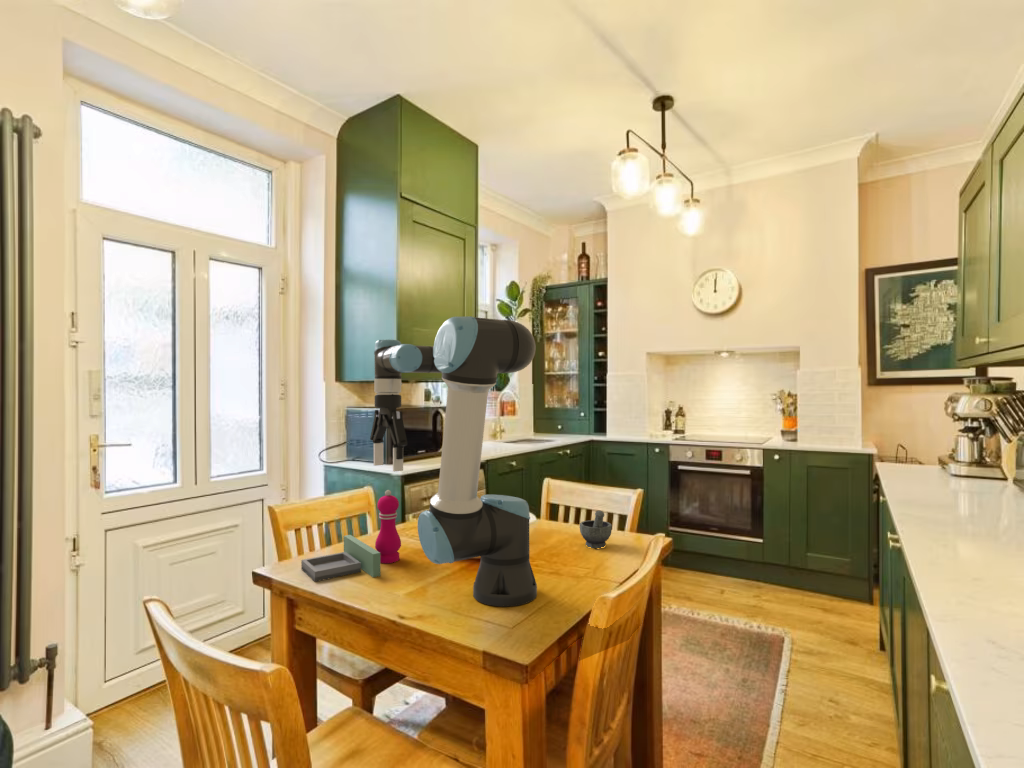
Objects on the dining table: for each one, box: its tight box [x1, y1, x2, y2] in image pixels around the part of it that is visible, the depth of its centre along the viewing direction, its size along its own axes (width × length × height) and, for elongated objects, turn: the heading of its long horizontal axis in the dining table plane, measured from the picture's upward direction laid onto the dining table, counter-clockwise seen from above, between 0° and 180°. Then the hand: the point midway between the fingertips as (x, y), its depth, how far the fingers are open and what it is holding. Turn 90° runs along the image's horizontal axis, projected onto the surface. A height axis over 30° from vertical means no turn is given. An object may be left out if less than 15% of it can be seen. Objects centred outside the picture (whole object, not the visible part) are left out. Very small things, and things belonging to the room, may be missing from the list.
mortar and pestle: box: [579, 510, 613, 548], centre depth 165 cm, size 11×9×12 cm
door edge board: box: [343, 534, 381, 578], centre depth 148 cm, size 22×2×6 cm, turn 37°
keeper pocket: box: [300, 551, 362, 582], centre depth 144 cm, size 12×12×2 cm
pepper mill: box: [374, 489, 402, 564], centre depth 153 cm, size 7×7×20 cm
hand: (387, 468), depth 153 cm, fingers open, 13 cm apart
